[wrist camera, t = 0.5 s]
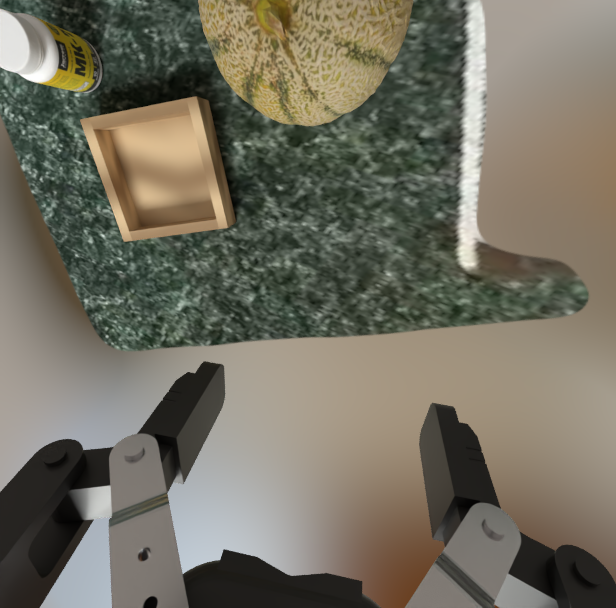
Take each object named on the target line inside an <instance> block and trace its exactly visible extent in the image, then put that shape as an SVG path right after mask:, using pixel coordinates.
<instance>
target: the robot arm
mask: <svg viewBox="0 0 616 608" xmlns="http://www.w3.org/2000/svg"><path fill="white" fill-rule="evenodd" d="M224 398H225V379H224V366H223V365H222V364H216V363H210V362H203V363H202V364H201V365H200V367H199V368H198V370H197V371H196V373H190V372H187V373H186V374H184V375H183V376H182V377H180V378H179V379H177V380H176V381H175V383H174V384H173V386H172V387H171V388H170V390H169V392H168V393H167V394H166V395H165V397H164V398H163V401H161V402H160V403H159V405H158V406H157V407H156V409H155V410H154V412H153V413H152V414H151V416H150V417H149V419H148V420H147V421H146V423H145V424H144V425H143V427H142V428H141V430H140V431H139V432H138V433H137V434H135V435H131V436H128V437H126V438H124V439H123V440H121V441H120V442H118V443H117V444H116V445H115V446H114V447H111V448H102V449H91V450H83V448H82V445H81V444H80V443H79V442H78V441H76V440H72V439H63V440H58V441H55V442H52V443H50V444H48V445H46V446H44V447H43V448H41V449H40V450H39V451H38V452H36V453H35V454H34V456H33V457H32V458H31V459H30V460H29V461H28V462H27V463H26V464H25V465H24V467H23V468H22V469H21V470H20V471H19V472H18V473H17V474H16V475H15V476H14V478H13V479H12V480H11V481H10V482H9V483H8V484H7V486H5V488H4V489H3V490H2V491H1V492H0V608H40V606H41V604H42V603H43V601H44V600H45V598H46V596H47V595H48V593H49V592H50V590H51V588H52V587H53V585H54V583H55V582H56V580H57V579H58V577H59V575H60V574H61V572H62V570H63V569H64V567H65V566H66V564H67V562H68V561H69V559H70V558H71V556H72V554H73V553H74V551H75V549H76V548H77V546H78V545H79V543H80V541H81V540H82V538H83V536H84V535H85V533H86V532H87V530H88V528H89V527H90V525H91V523H92V522H93V520H94V519H98V518H106V517H112V518H110V519H109V545H110V569H111V592H112V608H381V607H380V606H379V605H378V604H376V603H375V602H374V601H373V600H371V599H370V598H369V597H367V596H366V595H364V594H362V581H359V580H354V579H350V578H346V577H341V576H336V575H332V574H328V573H325V574H311V575H299V576H290V575H287V574H285V573H283V572H282V571H280V570H278V569H276V568H275V567H273V566H271V565H270V564H268V563H266V562H265V561H263V560H261V559H259V558H258V557H255V556H250V555H246V554H241V553H237V552H233V551H229V550H223V553H222V556H221V560H218V561H212V562H207V563H204V564H201V565H199V566H196V567H194V568H193V569H190V570H189V571H187V572H185V573H184V574H182V569H181V564H180V559H179V554H178V548H177V543H176V537H175V532H174V528H173V522H172V516H171V511H170V506H169V500H168V495H167V493H168V491H169V489H170V487H171V485H172V483H173V482H175V483H180V484H184V482H185V480H186V478H187V476H188V474H189V472H190V470H191V468H192V466H193V464H194V462H195V460H196V458H197V456H198V454H199V452H200V450H201V448H202V446H203V444H204V442H205V440H206V438H207V436H208V435H209V432H210V430H211V429H212V427H213V425H214V423H215V421H216V419H217V417H218V415H219V413H220V411H221V409H222V406H223V403H224ZM419 446H420V453H421V461H422V467H423V475H424V481H425V489H426V496H427V503H428V510H429V517H430V524H431V530H432V538H433V539H434V540H439V541H443V542H444V544H445V549H444V550H443V552H442V553H441V555H440V556H439V557H438V558H437V559H436V561H435V562H434V564H433V565H432V567H431V569H430V570H429V572H428V573H427V575H426V576H425V578H424V579H423V581H422V582H421V584H420V586H419V587H418V588H417V590H416V592H415V593H414V595H413V596H412V598H411V599H410V601H409V602H408V604H407V605H406V607H405V608H495V607H494V604H495V605H497V606H498V607H500V608H616V584H615V582H614V580H613V578H612V576H611V575H610V573H609V572H608V571H607V569H606V568H605V567H604V566H603V565H602V564H601V563H600V562H599V561H598V560H597V559H596V558H595V557H594V556H592V555H591V554H590V553H588V552H586V551H585V550H583V549H581V548H579V547H576V546H573V545H562V546H560V547H559V548H558V549H557V550H556V551H554V550H553V549H551V548H549V547H547V546H545V545H543V544H541V543H539V542H537V541H535V540H533V539H531V538H529V537H528V536H526V535H524V534H523V533H521V532H520V531H519V530H518V528H517V526H516V524H515V522H514V521H513V520H512V519H511V518H510V516H508V514H506V513H505V512H504V511H503V510H501V507H500V505H499V502H498V499H497V496H496V493H495V490H494V487H493V484H492V481H491V477H490V474H489V471H488V468H487V465H486V464H485V459H484V456H483V453H482V452H481V447H480V444H479V441H478V437H477V436H476V435H475V433H474V432H473V430H472V429H471V428H470V427H469V426H468V424H465V423H459V421H458V418H457V414H456V411H455V408H454V407H452V406H447V405H441V404H436V403H432V404H431V405H430V408H429V411H428V413H427V416H426V419H425V421H424V424H423V427H422V429H421V434H420V443H419Z"/></svg>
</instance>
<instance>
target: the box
mask: <svg viewBox="0 0 616 608" xmlns="http://www.w3.org/2000/svg"><path fill="white" fill-rule="evenodd" d="M80 121H81V124H82V127H83V129H84V132H85V135H86V138H87V141H88V143H89V146H90V149H91V152H92V154H93V157H94V160H95V163H96V165H97V168H98V171H99V174H100V176H101V179H102V182H103V185H104V187H105V190H106V193H107V196H108V198H109V201H110V204H111V207H112V210H113V212H114V215H115V218H116V221H117V223H118V226H119V229H120V232H121V234H122V237H123V240H124V242H126V241H133V240H141V239H148V238H155V237H163V236H170V235H178V234H185V233H192V232H200V231H207V230H214V229H222V228H228V227H230V226H231V225H233V224H234V223H236V219H235V214H234V210H233V205H232V201H231V197H230V192H229V188H228V184H227V179H226V175H225V170H224V166H223V162H222V157H221V153H220V149H219V144H218V140H217V136H216V131H215V127H214V122H213V118H212V114H211V109H210V105H209V101H208V100H206V99H203V98H200V97H197V96H195V97H190V98H185V99H180V100H175V101H170V102H165V103H160V104H155V105H150V106H145V107H140V108H135V109H130V110H125V111H120V112H115V113H110V114H105V115H100V116H95V117H90V118H85V119H80Z"/></svg>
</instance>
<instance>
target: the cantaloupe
mask: <svg viewBox="0 0 616 608" xmlns="http://www.w3.org/2000/svg"><path fill="white" fill-rule="evenodd" d="M198 2H199V12H200V17H201V22H202V24H203V31H204V34H205V36H206V38H207V41H208V43H209V46H210V48H211V51H212V54H213V56H214V59H215V61H216V63H217V66H218V68H219V70H220V72H221V74H222V75H223V76H224V78H225V80H226V81H227V82H228V84H229V85H230V86H231V88H232V89H233V90H234V91H235V92H236V93H237V94H238V95H239V96H240V97H241V98H242V99H244V100H245V101H246V102H248V103H249V104H250V105H252V106H253V107H254V108H256V109H257V110H258V111H260V112H261V113H262V114H264V115H265V116H267V117H269V118H271V119H273V120H275V121H278V122H280V123H284V124H297V125H304V126H315V125H321V124H323V123H328V122H331V121H333V120H335V119H337V118H338V117H340V116H341V115H343V114H345V113H347V112H351V111H352V110H354V109H356V108H357V107H359V106H360V105H362V104H363V103H364V102H365V101H366V100H367V99H368V97H369V96H370V95H371V94H373V93H375V90H376V88H377V87H378V86H379V85H380V84H381V82H382V80H383V78H384V76H385V75H386V73H387V71H388V69H389V67H390V64H391V63H392V62H393V61H394V60H395V58H396V56H397V55H398V53H399V50H400V48H401V45H402V42H403V41H404V38H405V34H406V31H407V28H408V25H409V21H410V15H411V9H412V5H413V0H198Z"/></svg>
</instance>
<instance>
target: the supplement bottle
mask: <svg viewBox="0 0 616 608" xmlns="http://www.w3.org/2000/svg"><path fill="white" fill-rule="evenodd" d="M0 67H1V68H3V69H5V70H8V71H11V72H15V73H19V74H20V75H21V76H22V77H24V78H26V79H28V80H30V81H32V82H36V83H40V84H44V85H49V86H53V87H58V88H62V89H67V90H71V91H76V92H80V93H88V92H91V91H93V90H95V89H96V88H97V87H98V86H99V84H100V82H101V79H102V64H101V61H100V58H99V56H98V54H97V52H96V50H95V49H94V48H93V46H92V45H91V44H90V43H89V42H88V41H86V40H85V39H83V38H82V37H79V36H77V35H75V34H73V33H70V32H68V31H66V30H64V29H61V28H59V27H57V26H54V25H52V24H50V23H47V22H45V21H43V20H41V19H38V18H36V17H34V16H31V15H28V14H23V13H17V14H15V13H12V12H9V11H6V10H3V9H0Z"/></svg>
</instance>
